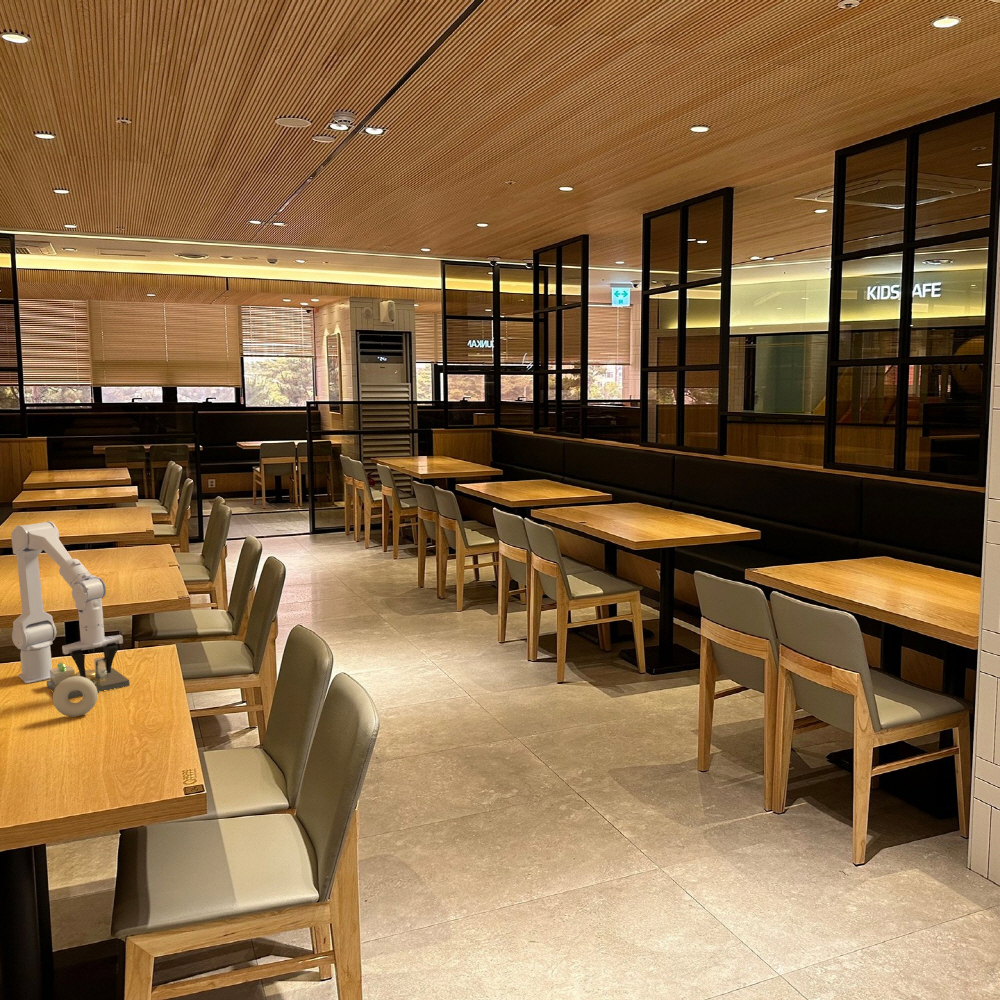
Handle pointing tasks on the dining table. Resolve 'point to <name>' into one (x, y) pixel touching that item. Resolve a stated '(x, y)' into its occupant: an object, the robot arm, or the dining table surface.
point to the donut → (80, 707)
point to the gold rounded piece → (97, 671)
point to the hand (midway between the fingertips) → (95, 674)
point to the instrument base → (111, 682)
